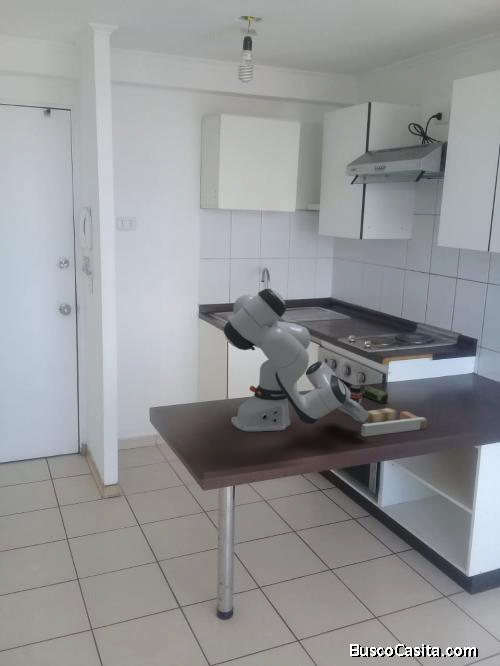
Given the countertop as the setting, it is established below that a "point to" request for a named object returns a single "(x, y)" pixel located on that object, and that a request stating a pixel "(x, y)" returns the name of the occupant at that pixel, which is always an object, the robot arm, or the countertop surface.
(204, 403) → the countertop surface
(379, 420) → the long beige block
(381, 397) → the vegetable
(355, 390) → the supplement bottle
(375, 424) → the board
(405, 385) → the countertop surface
